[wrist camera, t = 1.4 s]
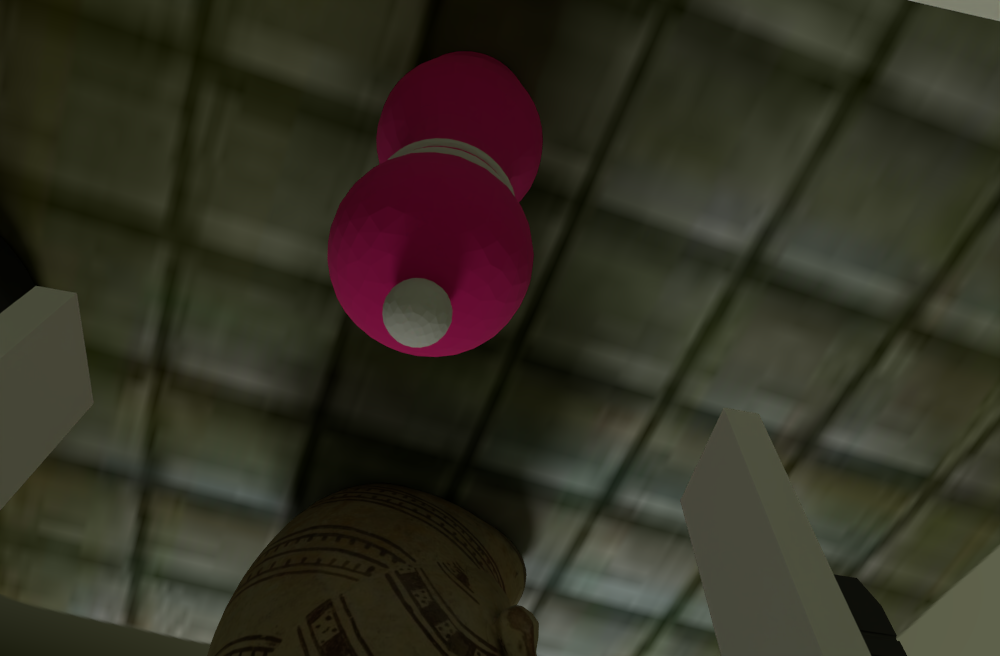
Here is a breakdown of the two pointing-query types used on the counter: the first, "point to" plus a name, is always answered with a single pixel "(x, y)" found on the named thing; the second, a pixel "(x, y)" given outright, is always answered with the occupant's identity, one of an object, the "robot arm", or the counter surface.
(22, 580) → the counter surface
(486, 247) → the pepper mill
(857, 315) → the counter surface
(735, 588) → the robot arm
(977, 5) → the tray
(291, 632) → the ceramic vessel
